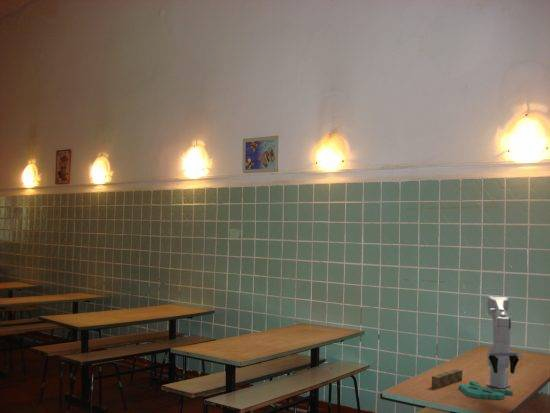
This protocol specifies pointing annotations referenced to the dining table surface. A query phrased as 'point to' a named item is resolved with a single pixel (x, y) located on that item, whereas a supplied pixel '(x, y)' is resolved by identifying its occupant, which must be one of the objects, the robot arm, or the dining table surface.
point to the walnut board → (446, 378)
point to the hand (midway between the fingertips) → (503, 373)
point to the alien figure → (483, 391)
